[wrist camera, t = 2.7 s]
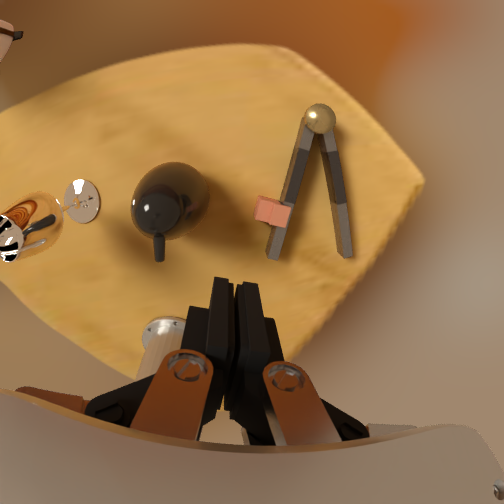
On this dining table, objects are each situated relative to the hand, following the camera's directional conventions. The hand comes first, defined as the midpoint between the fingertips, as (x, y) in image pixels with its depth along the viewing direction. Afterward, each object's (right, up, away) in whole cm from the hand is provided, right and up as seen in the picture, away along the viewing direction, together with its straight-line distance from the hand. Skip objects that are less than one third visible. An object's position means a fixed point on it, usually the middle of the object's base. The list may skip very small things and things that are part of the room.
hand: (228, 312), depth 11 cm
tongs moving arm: (+14, +12, +31) cm, 36 cm away
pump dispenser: (-10, +11, +30) cm, 33 cm away
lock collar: (+3, +9, +31) cm, 33 cm away
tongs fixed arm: (+8, +13, +30) cm, 34 cm away
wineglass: (-28, +11, +28) cm, 41 cm away
